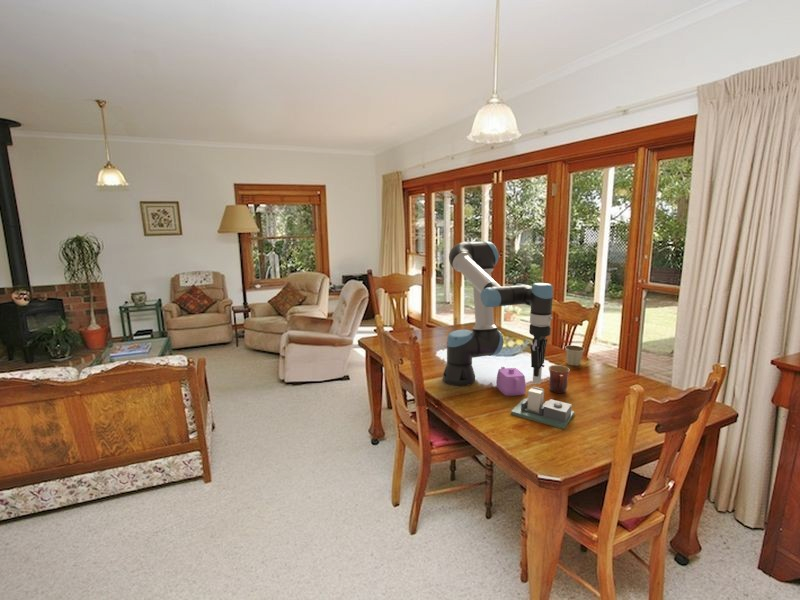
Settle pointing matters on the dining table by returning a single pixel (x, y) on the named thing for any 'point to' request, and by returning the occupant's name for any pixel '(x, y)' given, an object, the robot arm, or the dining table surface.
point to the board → (546, 413)
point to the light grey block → (535, 399)
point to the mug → (558, 378)
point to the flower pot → (574, 354)
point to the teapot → (511, 381)
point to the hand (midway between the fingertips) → (536, 383)
